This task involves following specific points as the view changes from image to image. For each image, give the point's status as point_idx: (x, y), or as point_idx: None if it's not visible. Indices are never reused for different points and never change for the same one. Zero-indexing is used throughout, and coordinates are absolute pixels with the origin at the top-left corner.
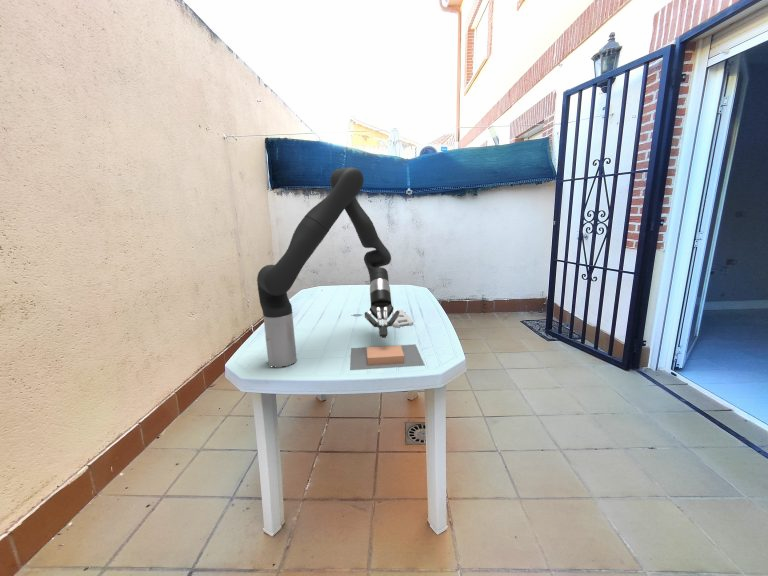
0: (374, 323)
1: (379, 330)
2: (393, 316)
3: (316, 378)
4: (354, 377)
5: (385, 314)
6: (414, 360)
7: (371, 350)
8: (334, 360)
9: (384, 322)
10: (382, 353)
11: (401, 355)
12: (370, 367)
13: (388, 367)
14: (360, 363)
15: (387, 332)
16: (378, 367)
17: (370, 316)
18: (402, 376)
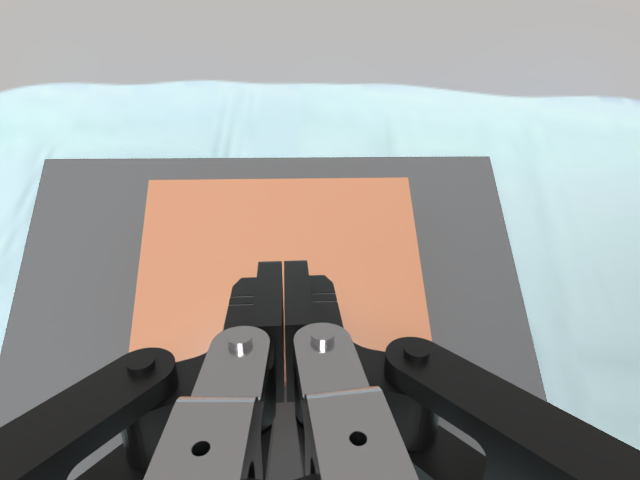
0: (426, 346)
1: (335, 301)
2: (5, 468)
3: (632, 113)
4: (449, 101)
5: (193, 469)
6: (86, 231)
7: (390, 301)
8: (625, 312)
9: (253, 358)
10: (302, 236)
11: (166, 187)
12: (377, 171)
13: (271, 160)
14: (443, 227)
15: (234, 288)
16: (330, 166)
17: (568, 460)
18: (207, 81)
